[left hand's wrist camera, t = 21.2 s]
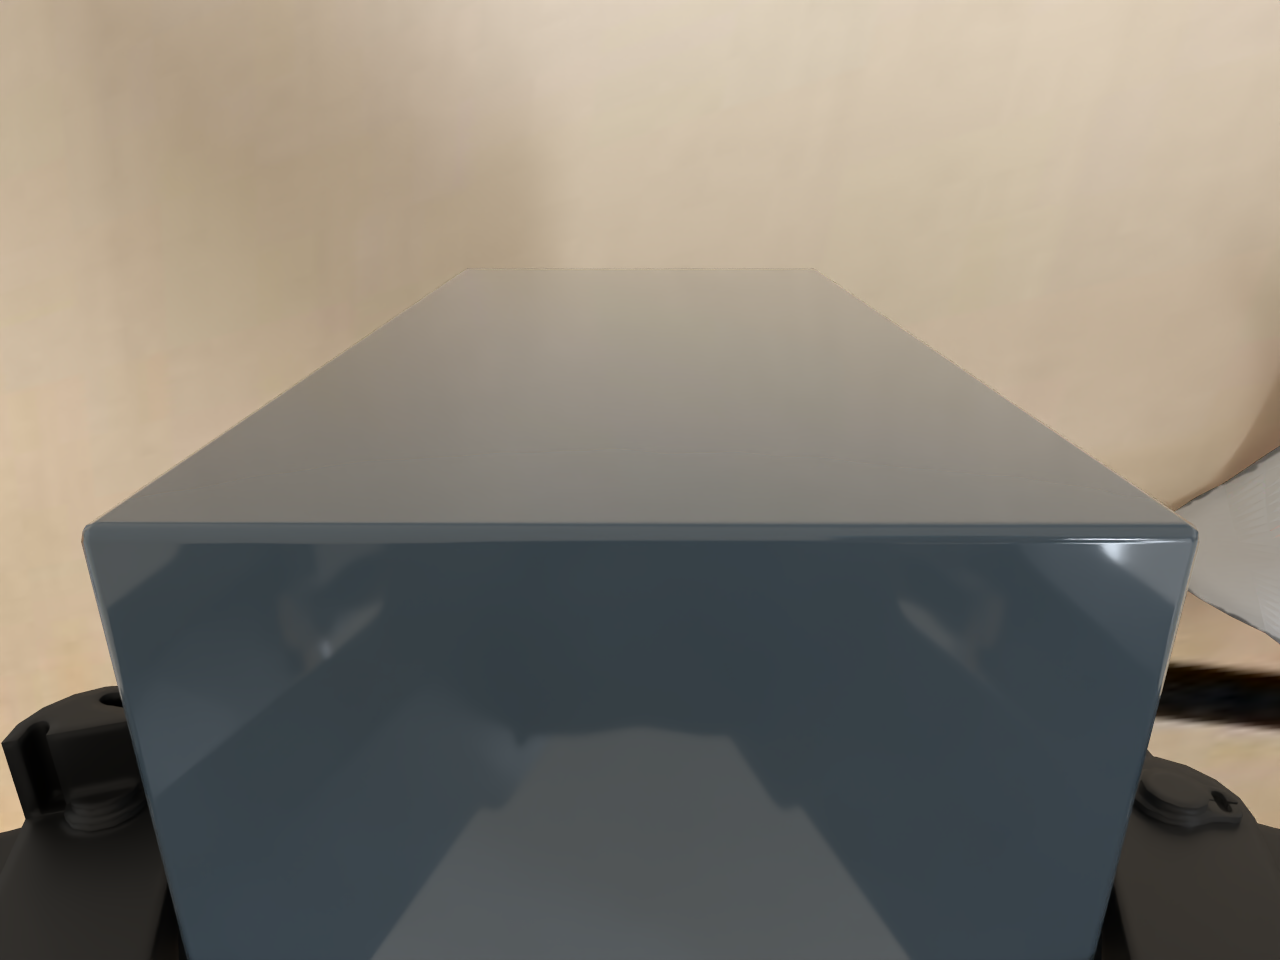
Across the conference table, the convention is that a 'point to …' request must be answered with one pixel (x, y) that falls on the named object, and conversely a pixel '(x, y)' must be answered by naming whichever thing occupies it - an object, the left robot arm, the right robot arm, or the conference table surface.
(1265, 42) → the conference table surface
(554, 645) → the brick
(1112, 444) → the conference table surface
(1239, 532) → the fish
